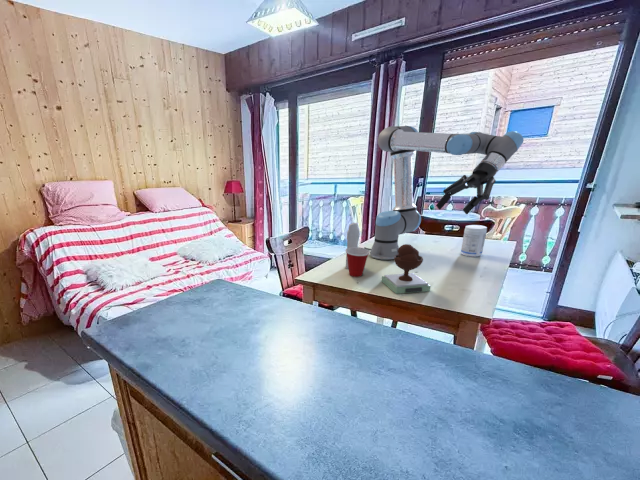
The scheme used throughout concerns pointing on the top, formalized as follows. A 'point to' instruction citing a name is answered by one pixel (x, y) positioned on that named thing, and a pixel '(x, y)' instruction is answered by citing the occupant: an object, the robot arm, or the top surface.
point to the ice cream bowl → (407, 260)
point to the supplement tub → (473, 240)
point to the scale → (405, 284)
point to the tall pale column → (352, 237)
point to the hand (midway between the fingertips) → (450, 209)
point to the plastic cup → (356, 260)
